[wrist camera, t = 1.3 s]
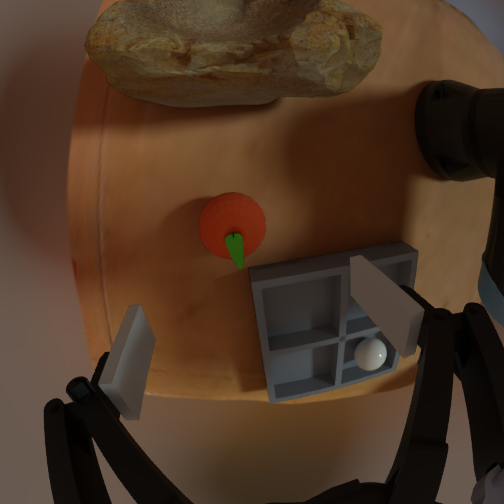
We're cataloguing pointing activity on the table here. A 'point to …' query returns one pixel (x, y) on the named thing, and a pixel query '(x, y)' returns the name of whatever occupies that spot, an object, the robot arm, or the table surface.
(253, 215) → the clementine
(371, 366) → the cream egg
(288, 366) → the divided tray
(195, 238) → the table surface
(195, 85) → the rough brown rock
